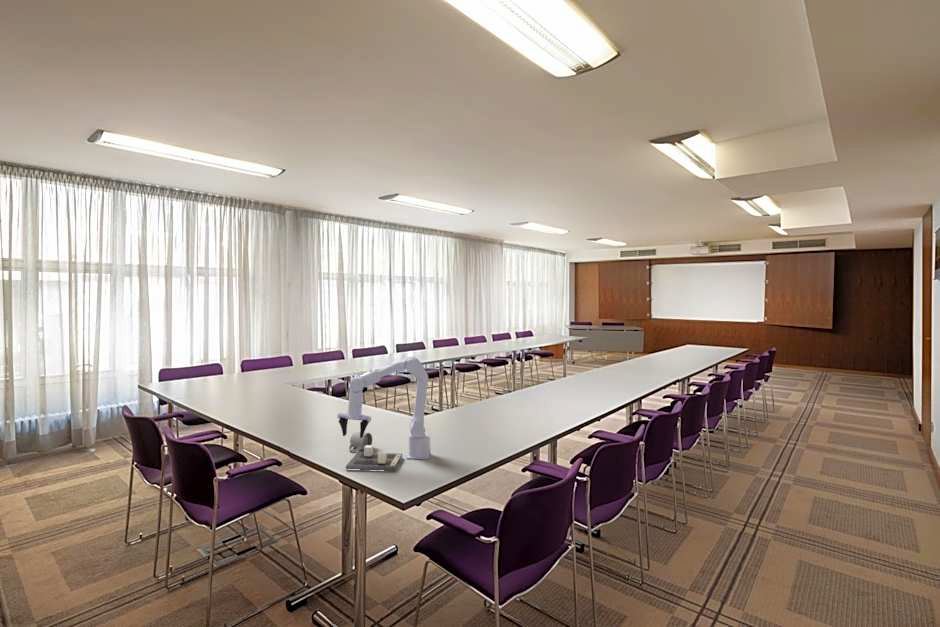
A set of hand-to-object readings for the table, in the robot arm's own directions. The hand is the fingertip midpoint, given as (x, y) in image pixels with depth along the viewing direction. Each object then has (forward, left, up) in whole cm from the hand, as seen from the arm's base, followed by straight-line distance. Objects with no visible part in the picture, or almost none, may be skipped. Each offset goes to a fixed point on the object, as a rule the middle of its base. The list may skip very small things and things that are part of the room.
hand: (353, 436), depth 201 cm
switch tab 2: (-15, +8, -8) cm, 19 cm away
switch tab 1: (-7, 0, -8) cm, 11 cm away
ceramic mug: (+1, -14, -11) cm, 18 cm away
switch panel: (-11, +4, -10) cm, 16 cm away
